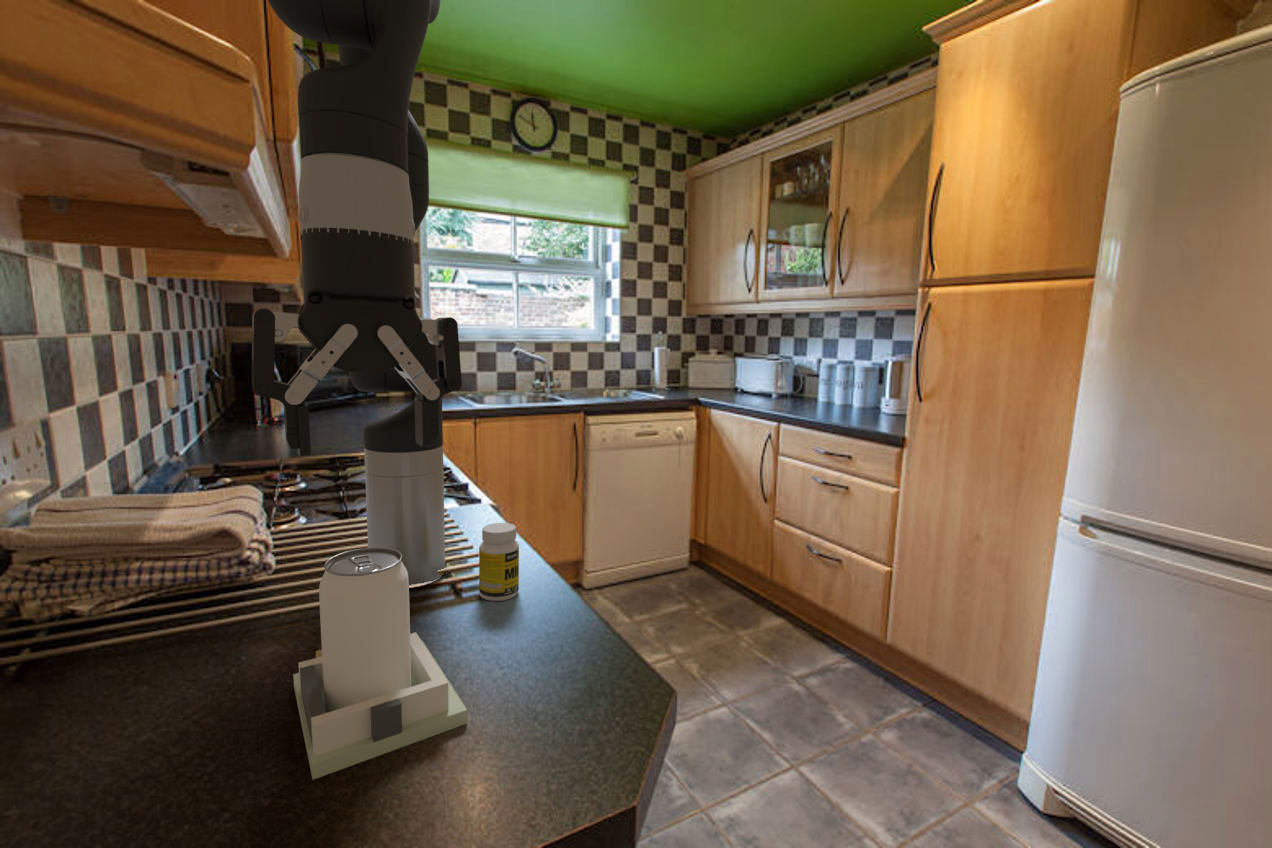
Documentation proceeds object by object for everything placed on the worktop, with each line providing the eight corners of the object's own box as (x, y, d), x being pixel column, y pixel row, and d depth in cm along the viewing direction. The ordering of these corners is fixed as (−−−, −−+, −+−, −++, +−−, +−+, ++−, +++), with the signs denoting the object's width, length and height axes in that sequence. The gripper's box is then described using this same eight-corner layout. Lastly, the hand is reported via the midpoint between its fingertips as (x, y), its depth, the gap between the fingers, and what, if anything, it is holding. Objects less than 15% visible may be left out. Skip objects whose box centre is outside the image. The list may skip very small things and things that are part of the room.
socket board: (293, 687, 50) (291, 648, 50) (422, 651, 57) (421, 617, 56) (312, 779, 40) (310, 732, 40) (467, 723, 46) (466, 682, 46)
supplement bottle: (509, 604, 68) (509, 535, 66) (472, 599, 68) (471, 531, 67) (524, 587, 72) (525, 523, 71) (490, 583, 73) (489, 520, 72)
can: (333, 736, 43) (326, 583, 41) (318, 692, 48) (311, 555, 46) (421, 704, 47) (418, 564, 45) (399, 667, 52) (395, 540, 50)
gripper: (441, 250, 49) (444, 436, 52) (240, 226, 41) (254, 449, 43) (471, 239, 43) (473, 450, 46) (243, 209, 35) (259, 468, 37)
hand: (366, 449), depth 45 cm, fingers open, 8 cm apart
